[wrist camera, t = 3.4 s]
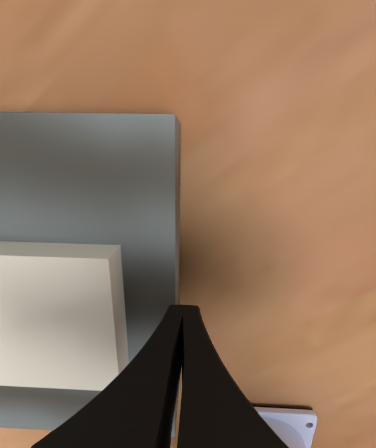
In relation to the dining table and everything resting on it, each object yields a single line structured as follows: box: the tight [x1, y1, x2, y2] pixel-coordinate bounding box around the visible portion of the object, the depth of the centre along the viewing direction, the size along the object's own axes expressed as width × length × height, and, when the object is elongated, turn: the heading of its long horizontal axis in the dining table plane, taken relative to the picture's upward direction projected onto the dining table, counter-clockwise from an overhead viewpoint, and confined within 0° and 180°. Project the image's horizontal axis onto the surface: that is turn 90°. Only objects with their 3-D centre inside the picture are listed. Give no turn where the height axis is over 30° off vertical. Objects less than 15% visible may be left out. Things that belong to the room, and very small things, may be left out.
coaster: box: [0, 241, 129, 391], centre depth 11 cm, size 7×7×2 cm
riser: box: [0, 112, 180, 437], centre depth 13 cm, size 18×12×3 cm, turn 179°
